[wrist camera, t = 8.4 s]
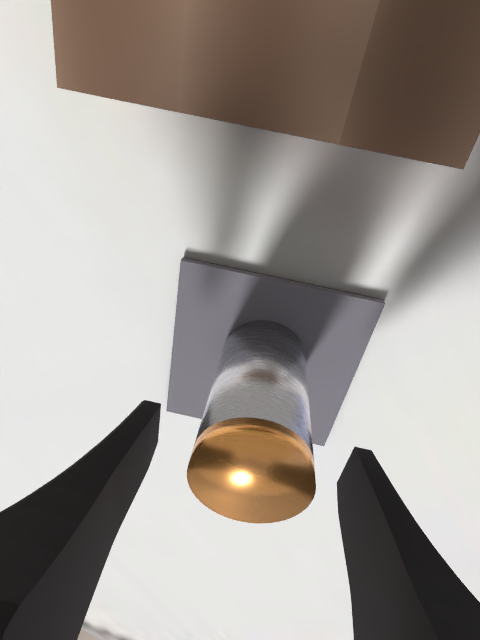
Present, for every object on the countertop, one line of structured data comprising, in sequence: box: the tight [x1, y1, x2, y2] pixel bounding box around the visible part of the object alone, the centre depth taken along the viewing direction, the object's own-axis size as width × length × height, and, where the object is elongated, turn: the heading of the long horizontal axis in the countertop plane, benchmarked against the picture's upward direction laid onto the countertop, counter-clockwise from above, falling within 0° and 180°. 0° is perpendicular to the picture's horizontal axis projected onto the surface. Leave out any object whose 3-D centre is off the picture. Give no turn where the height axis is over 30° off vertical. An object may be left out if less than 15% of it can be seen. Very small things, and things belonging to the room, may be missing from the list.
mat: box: [167, 258, 385, 446], centre depth 17 cm, size 9×9×1 cm
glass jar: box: [187, 320, 316, 523], centre depth 14 cm, size 4×4×7 cm
